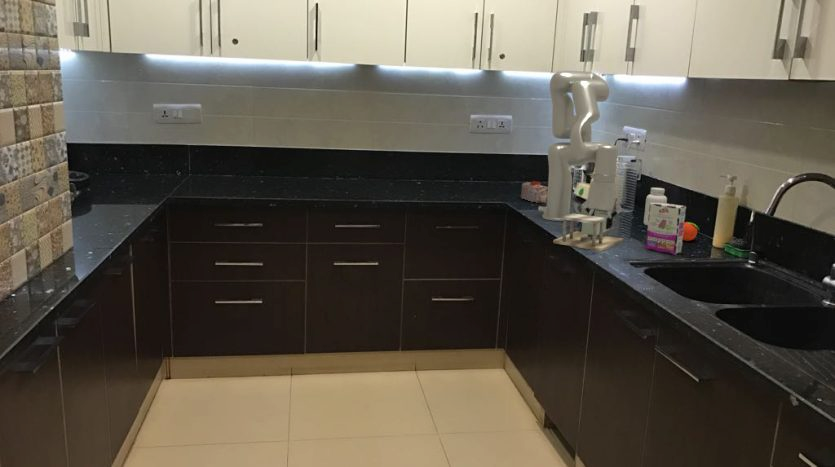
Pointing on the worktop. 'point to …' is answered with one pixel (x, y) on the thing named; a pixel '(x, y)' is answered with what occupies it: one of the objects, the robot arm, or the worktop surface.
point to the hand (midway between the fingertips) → (600, 226)
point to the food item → (534, 192)
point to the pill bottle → (654, 200)
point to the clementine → (689, 231)
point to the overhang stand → (583, 239)
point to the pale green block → (588, 227)
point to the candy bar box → (665, 228)
